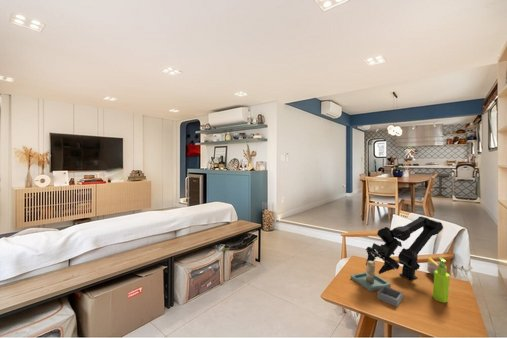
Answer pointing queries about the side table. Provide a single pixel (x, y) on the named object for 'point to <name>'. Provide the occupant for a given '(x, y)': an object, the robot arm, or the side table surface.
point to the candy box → (432, 266)
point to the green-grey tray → (361, 280)
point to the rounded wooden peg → (370, 272)
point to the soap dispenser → (441, 282)
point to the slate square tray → (390, 296)
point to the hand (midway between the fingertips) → (372, 269)
